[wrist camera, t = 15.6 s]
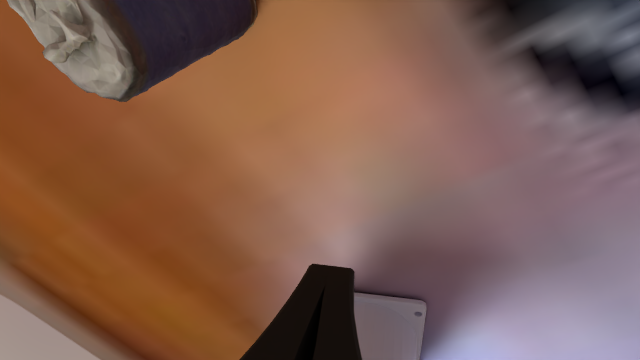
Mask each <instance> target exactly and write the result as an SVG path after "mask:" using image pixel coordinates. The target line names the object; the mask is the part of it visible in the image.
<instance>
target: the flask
mask: <svg viewBox="0 0 640 360" xmlns="http://www.w3.org/2000/svg"><path fill="white" fill-rule="evenodd" d="M7 1H8V3H9V5H10V7H11V8H12V9H14V10H15V11H16V12H17V13H18V14H19V15H20V16H21V17H22V18H23V19H24V20H25V21H26V23H27V24H28V25H29V27H30V29H31V30H32V32H33V33H34V35H35V37H36V38H37V40H38V41H39V42H40V43H41V44H42V45H43V46H44V47H45V50H44V51H43V52H42V53H43V55H44V57H45V58H46V59H48V60H49V61H51V62H52V63H53V64H54V65H55V66H56V67H57V68H58V69H59V70H60V71H61V72H63V73H65V74H66V75H67V76H68V77H69V78H70V79H71V81H72V82H73V83H74V84H75V85H77V86H78V87H80V88H81V89H83V90H84V91H86V92H87V93H96V94H98V95H99V96H101V97H103V98H108V99H114V100H117V101H119V102H127V101H128V100H130V99H131V98H132V97H134V96H137V95H139V94H140V93H143V92H145V91H147V90H148V89H149V88H151V87H152V86H154V85H156V84H158V83H159V82H161V81H163V80H165V79H167V78H169V77H171V76H172V75H174V74H175V73H177V72H178V71H180V70H182V69H184V68H186V67H187V66H189V65H190V64H192V63H194V62H195V61H197V60H199V59H201V58H203V57H205V56H207V55H210V54H212V53H213V52H215V51H216V50H217V49H219V48H221V47H223V46H226V45H228V44H229V43H231V42H232V41H234V40H237V39H239V38H240V37H241V36H243V35H244V33H245V32H246V31H247V30H248V28H250V27H251V26H253V24H254V21H255V18H256V16H257V11H256V1H255V0H7Z"/></svg>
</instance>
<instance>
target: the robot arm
mask: <svg viewBox="0 0 640 360" xmlns="http://www.w3.org/2000/svg"><path fill="white" fill-rule="evenodd" d="M425 317H426V303H425V302H423V301H421V300H415V299H406V298H398V297H389V296H381V295H372V294H363V293H355V292H354V271H353V270H352V269H351V268H344V267H336V266H327V265H319V264H312V265H310V266H309V267H308V269H307V271H306V273H305V274H304V276H303V278H302V279H301V281H300V283H299V284H298V286H297V287H296V289H295V290H294V292H293V293H292V295H291V296H290V298H289V299H288V300H287V302H286V303H285V305H284V306H283V307H282V309H281V310H280V311H279V313H278V314H277V315H276V317H275V318H274V319H273V321H272V322H271V323H270V325H269V326H268V327H267V328H266V329H265V331H264V332H263V333H262V334H261V335H260V337H259V338H258V339H257V340H256V342H255V343H254V344H253V345H252V346H251V347H250V349H249V350H248V351H247V352H246V353H245V354H244V355H243V356H242V357H241V359H240V360H419V359H420V352H421V345H422V338H423V331H424V324H425Z"/></svg>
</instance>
